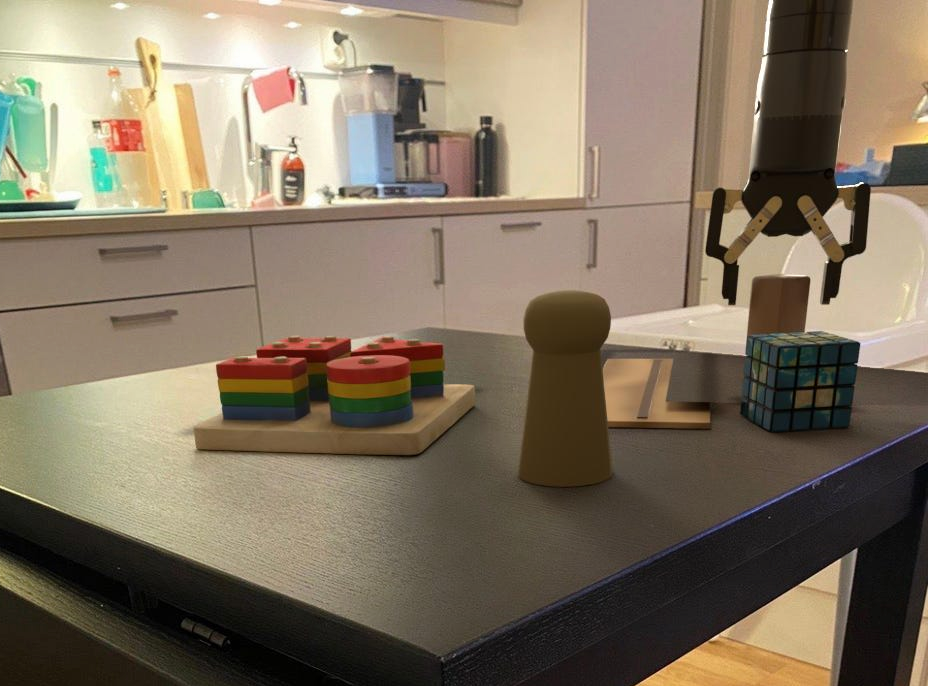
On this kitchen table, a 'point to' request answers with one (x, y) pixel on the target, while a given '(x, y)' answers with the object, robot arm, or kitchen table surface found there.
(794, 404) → the puzzle
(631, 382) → the tan wooden flat board
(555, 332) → the pepper shaker
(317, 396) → the shape sorter
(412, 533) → the kitchen table surface
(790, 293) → the wooden block
